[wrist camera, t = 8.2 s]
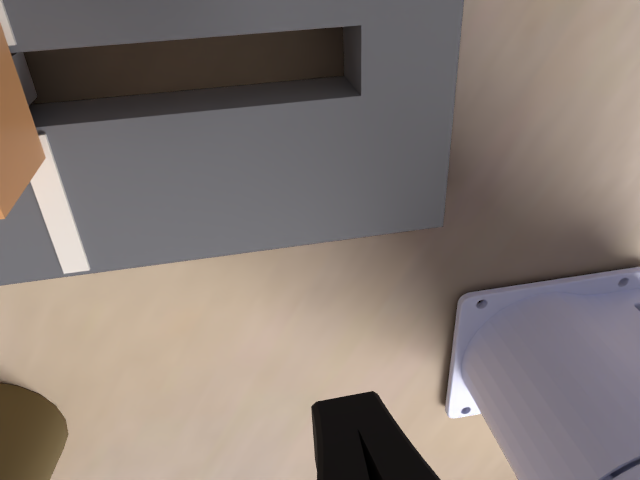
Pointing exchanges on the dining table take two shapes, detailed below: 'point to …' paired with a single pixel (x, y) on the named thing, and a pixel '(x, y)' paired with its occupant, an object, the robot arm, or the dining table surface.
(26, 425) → the olive tapered knobbed piece
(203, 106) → the console board
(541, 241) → the dining table surface
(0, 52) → the fader tab
